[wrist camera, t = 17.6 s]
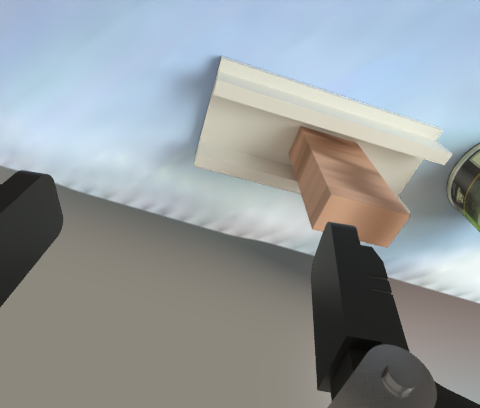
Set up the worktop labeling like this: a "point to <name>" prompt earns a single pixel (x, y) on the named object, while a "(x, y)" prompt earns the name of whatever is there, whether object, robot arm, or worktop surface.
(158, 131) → the worktop surface
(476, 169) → the coffee can
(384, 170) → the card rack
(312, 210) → the wooden card
